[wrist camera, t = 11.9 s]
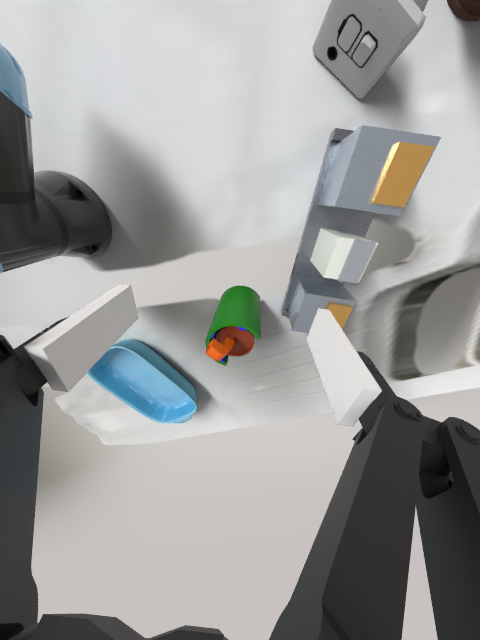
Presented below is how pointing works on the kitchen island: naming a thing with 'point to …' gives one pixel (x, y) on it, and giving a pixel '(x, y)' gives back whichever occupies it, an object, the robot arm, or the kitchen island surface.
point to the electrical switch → (366, 38)
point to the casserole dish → (145, 382)
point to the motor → (234, 324)
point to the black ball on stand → (466, 9)
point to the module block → (342, 255)
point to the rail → (352, 208)
